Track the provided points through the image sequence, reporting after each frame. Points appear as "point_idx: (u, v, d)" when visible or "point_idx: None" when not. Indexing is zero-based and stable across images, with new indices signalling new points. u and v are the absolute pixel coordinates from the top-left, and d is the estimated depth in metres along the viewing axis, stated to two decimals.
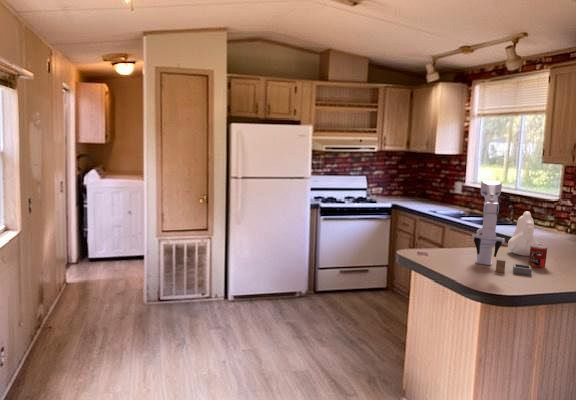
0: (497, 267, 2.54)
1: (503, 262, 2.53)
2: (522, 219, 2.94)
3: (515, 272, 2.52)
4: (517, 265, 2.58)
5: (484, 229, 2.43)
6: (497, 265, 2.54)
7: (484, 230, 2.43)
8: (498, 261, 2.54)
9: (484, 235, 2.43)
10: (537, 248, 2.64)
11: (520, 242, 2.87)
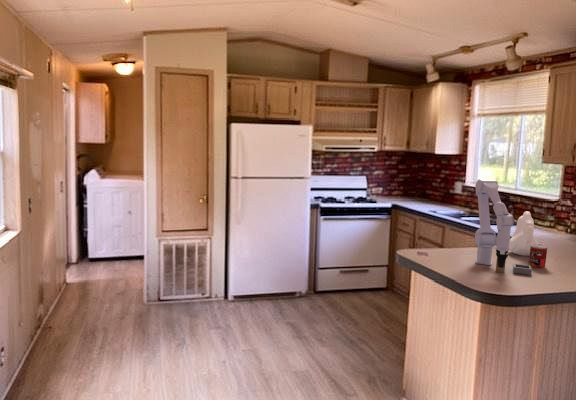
0: (497, 267, 2.54)
1: None
2: (522, 219, 2.94)
3: (515, 272, 2.52)
4: (517, 265, 2.58)
5: None
6: (497, 265, 2.54)
7: None
8: None
9: None
10: (537, 248, 2.64)
11: (520, 242, 2.87)
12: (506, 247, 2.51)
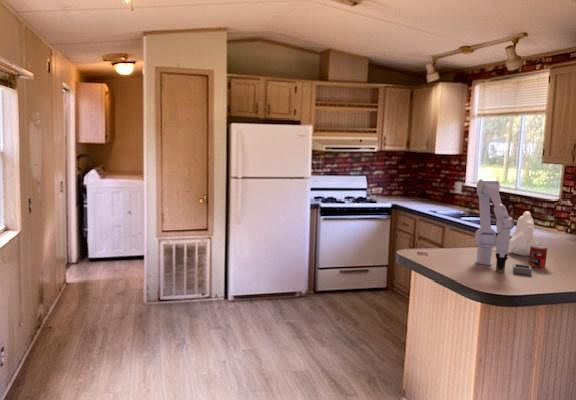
0: (497, 267, 2.54)
1: None
2: (522, 219, 2.94)
3: (515, 272, 2.52)
4: (517, 265, 2.58)
5: None
6: (497, 265, 2.54)
7: None
8: None
9: None
10: (537, 248, 2.64)
11: (520, 242, 2.87)
12: (506, 250, 2.51)
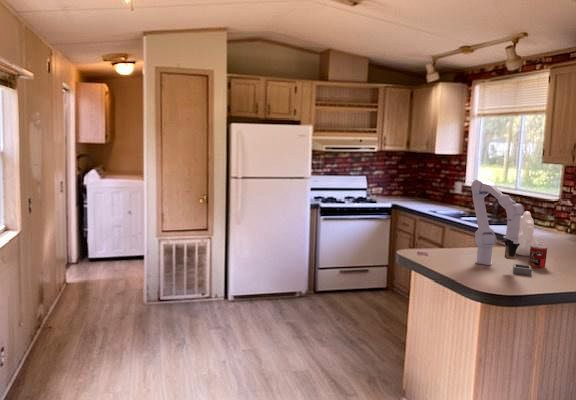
0: (508, 254, 2.52)
1: None
2: (522, 219, 2.94)
3: (515, 272, 2.52)
4: (517, 265, 2.58)
5: None
6: (508, 252, 2.52)
7: None
8: None
9: None
10: (537, 248, 2.64)
11: (520, 242, 2.87)
12: (517, 236, 2.50)
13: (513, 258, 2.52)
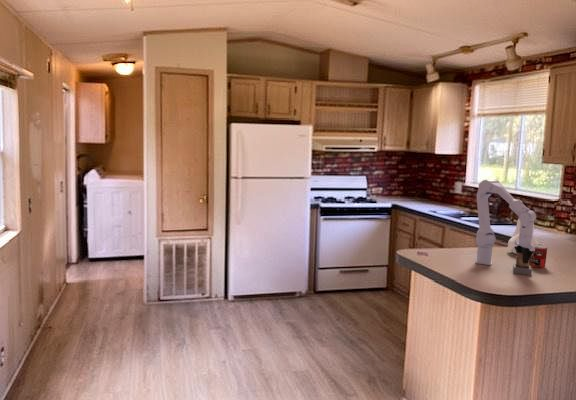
0: (522, 261, 2.52)
1: None
2: None
3: (515, 272, 2.52)
4: (517, 265, 2.58)
5: (519, 236, 2.54)
6: (522, 259, 2.52)
7: (519, 237, 2.54)
8: None
9: (518, 241, 2.54)
10: (537, 248, 2.64)
11: None
12: (530, 243, 2.51)
13: (526, 265, 2.52)
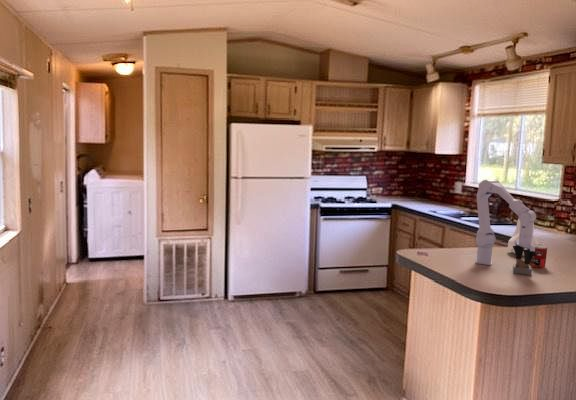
0: None
1: None
2: None
3: (515, 272, 2.52)
4: None
5: (519, 236, 2.54)
6: (521, 266, 2.52)
7: (519, 237, 2.54)
8: (522, 262, 2.52)
9: (518, 241, 2.54)
10: (537, 248, 2.64)
11: None
12: (530, 243, 2.51)
13: None
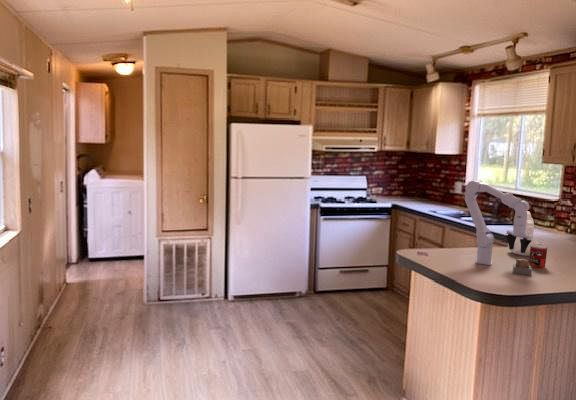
0: None
1: (526, 262, 2.52)
2: None
3: (515, 272, 2.52)
4: None
5: None
6: (521, 266, 2.52)
7: None
8: (522, 262, 2.52)
9: (513, 231, 2.59)
10: (537, 248, 2.64)
11: None
12: None
13: None
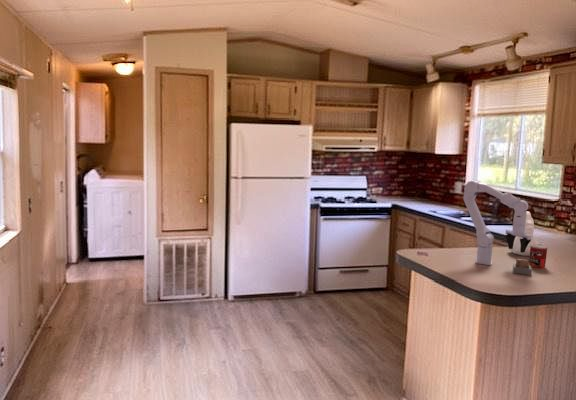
0: None
1: (526, 262, 2.52)
2: None
3: (515, 272, 2.52)
4: None
5: (513, 225, 2.60)
6: (521, 266, 2.52)
7: None
8: (522, 262, 2.52)
9: (512, 231, 2.60)
10: (537, 248, 2.64)
11: None
12: (524, 232, 2.58)
13: None
